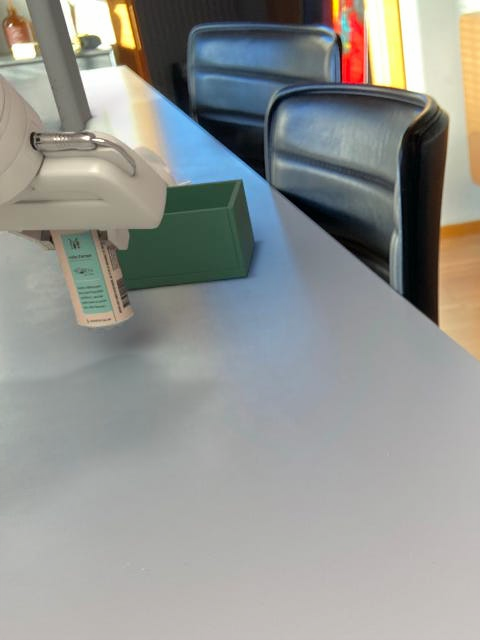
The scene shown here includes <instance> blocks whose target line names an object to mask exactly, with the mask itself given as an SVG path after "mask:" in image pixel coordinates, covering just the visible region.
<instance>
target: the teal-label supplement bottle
mask: <svg viewBox="0 0 480 640" xmlns="http://www.w3.org/2000/svg"><path fill="white" fill-rule="evenodd" d="M101 232H102V231H100V230H99V229H93V230H50V233H51V236H52V239H53V242H54V246H55V249H56V250H55V252H56V255H57V258H58V262H59V265H60V268H61V273H62V275H63V279H64V282H65V285H66V288H67V291H68V295H69V297H70V301H71V304H72V307H73V310H74V314H75V318H76V323H77V324H78V326H80V327H83V328H86V329H88V330H91V331H105V330H111V329H115V328H118V327H121V326H123V325H125V324H126V323H127V322H128V321H129V320H130V319H131V318H132V317H133V316H134V310H133V309H132V306H131V302H130V298H129V294H128V290H126V287H125V283H124V280H123V276H122V272H121V269H120V265H119V261H118V258H117V254H116V250H109V249H108V248H107V246H105V245H104V244H102V243H101V242H100V235H101Z"/></svg>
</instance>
